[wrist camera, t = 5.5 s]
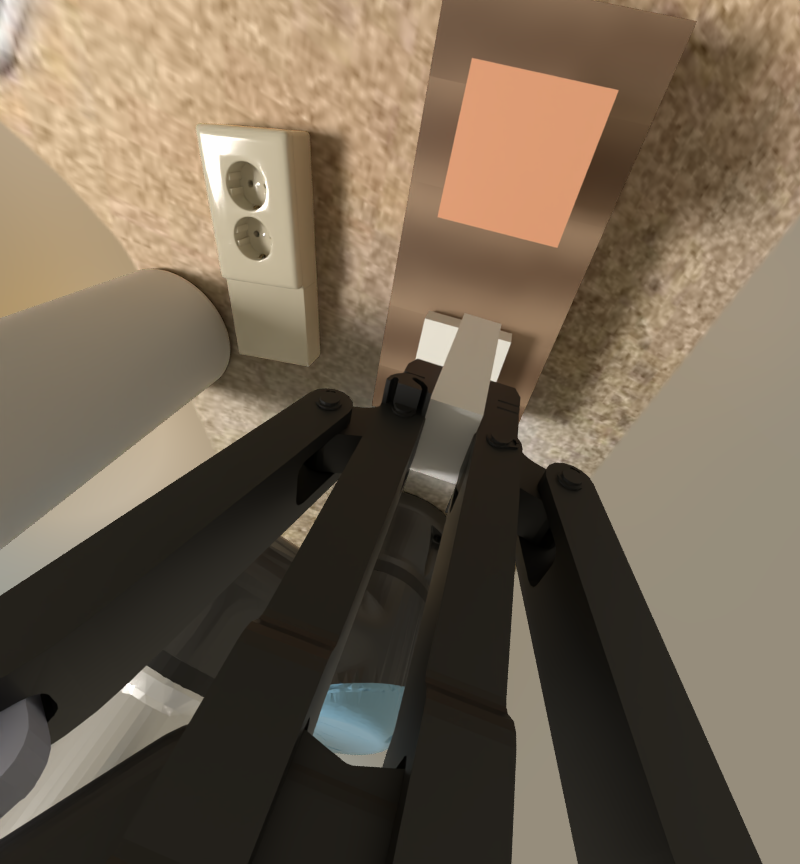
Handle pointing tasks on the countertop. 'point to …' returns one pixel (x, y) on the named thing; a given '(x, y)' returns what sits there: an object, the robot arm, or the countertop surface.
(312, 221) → the electrical outlet
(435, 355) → the white square plug
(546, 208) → the plug terracotta
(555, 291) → the block
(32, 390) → the cylinder vase
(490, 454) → the robot arm
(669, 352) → the countertop surface
